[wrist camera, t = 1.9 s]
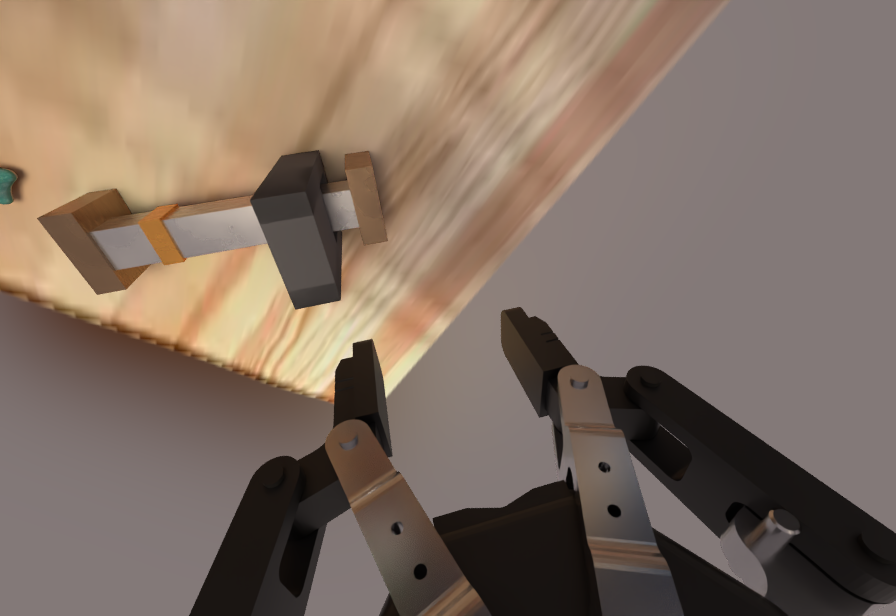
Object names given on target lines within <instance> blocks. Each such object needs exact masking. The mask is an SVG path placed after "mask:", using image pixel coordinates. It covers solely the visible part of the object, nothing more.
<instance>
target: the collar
mask: <svg viewBox="0 0 896 616" xmlns="http://www.w3.org/2000/svg"><path fill="white" fill-rule="evenodd" d="M326 183H328V182H327V178H326V175H325V171H324V168H323V164H322V160H321V157H320V153H319V150H318V151H311V152H304V153H297V154H291V155H284V156H281V157H280V158H279V160H278V161H277V163H276V164H275V165H274V167H273V168H272V170H271V171H270V172H269V174H268V175H267V177H266V178H265V180H264V181H263V182H262V184H261V185H260V187H259V188H258V189H257V191H256V192H255V194H254V195H253V196H252V198H251V199H250V202H251V205H252V207H253V210H254V212H255V214H256V217H257V219H258V222H259V224H260V226H261V229H262V231H263V233H264V236H265V238H266V241H267V243H268V245H269V248H270V250H271V253H272V255H273V257H274V260H275V262H276V265H277V267H278V269H279V272H280V274H281V276H282V279H283V281H284V284H285V286H286V288H287V291H288V293H289V296H290V298H291V300H292V303H293V305H294V307H295V310H296V309H301V308H305V307H310V306H315V305H320V304H325V303H330V302H335V301H340V300H341V265H342V231H341V230H340V231H334V232H333V230H332V226H331V223H330V220H329V216H328V213H327V210H326V206H325V203H324V200H323V196H322V193H321V190H320V184H326Z"/></svg>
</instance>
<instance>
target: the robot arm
mask: <svg viewBox="0 0 896 616" xmlns="http://www.w3.org/2000/svg"><path fill="white" fill-rule="evenodd" d="M501 343H502V348H503V351H504V354H505V356H506V358H507V360H508V361H509V363H510V365H511V367H512V369H513V370H514V372H515V374H516V376H517V378H518V380H519V381H520V383H521V385H522V387H523V389H524V391H525V392H526V394H527V396H528V398H529V400H530V401H531V403H532V405H533V407H534V409H535V410H536V412H537V414H538V416H539V417H544V416H547V415H549V416H550V418H551V419H552V436H553V444H554V452H555V462H556V470H557V482H554V483H551V484H547V485H544V486H541V487H537V488H534V489H532V490H530V491H529V492H527V493H525V494H524V495H522V496H521V497H519V498H518V499H516V500H515V501H513V502H512V503H510V504H508V505H507V506H505V507H502V508H466V509H462V510H459V511H455V512H452V513H449V514H445V515H442V516H439V517H435V518H433V523H434V526H433V524H432V523H431V521H430V520H429V518H428V516H427V515H426V513H425V511H424V510H423V508H422V507H421V505H420V503H419V502H418V500H417V498H416V497H415V495H414V494H413V492H412V490H411V489H410V487H409V485H408V484H407V482H406V481H405V479H404V478H403V476H402V475H401V473H400V472H397V471H396V470H395V469H394V467H393V466H392V464H391V462H390V460H389V459H388V457H391V456H392V448H391V440H390V432H389V424H388V414H387V406H386V397H385V389H384V381H383V376H382V371H381V367H380V363H379V360H378V356H377V353H376V349H375V346H374V342H373V340H372V339H370V340H365V341H360V342H356V343H353V357H350V358H346V359H342V360H341V361H340V363H339V365H338V367H337V369H336V370H335V398H334V426H333V429H332V430H331V432H330V433H329V434H328V436H327V438H326V441H325V443H324V444H323V445H322V446H321V447H320V448H318V449H317V450H315V451H314V452H312V453H311V454H308V455H307V456H305V457H303V458H302V459H299V460H298V461H297V460H296V459H294V458H292V457H289V456H280V457H276V458H274V459H271V460H269V461H268V462H266V463H265V464H264V465H262V466H261V467H260V468H259V469H258V470H257V471H256V472H255V474H254V475H253V477H252V479H251V480H250V483H249V485H248V487H247V489H246V491H245V493H244V496H243V498H242V500H241V502H240V505H239V507H238V509H237V511H236V513H235V516H234V518H233V520H232V522H231V524H230V527H229V529H228V531H227V533H226V535H225V538H224V540H223V542H222V545H221V547H220V549H219V551H218V553H217V555H216V558H215V560H214V562H213V564H212V566H211V569H210V571H209V573H208V575H207V578H206V580H205V582H204V584H203V586H202V588H201V591H200V593H199V595H198V597H197V599H196V602H195V604H194V606H193V608H192V610H191V613H190V615H189V616H304V614H305V610H306V606H307V601H308V598H309V593H310V590H311V585H312V582H313V578H314V574H315V569H316V566H317V562H318V557H319V554H320V549H321V545H322V541H323V537H324V533H325V529H326V525H327V523H328V522H329V521H331V520H333V519H334V518H336V517H337V516H339V515H340V514H342V513H343V512H345V511H347V510H348V509H350V508H352V511H353V513H354V515H355V517H356V520H357V522H358V524H359V526H360V528H361V531H362V533H363V535H364V537H365V539H366V542H367V544H368V546H369V548H370V551H371V553H372V555H373V557H374V560H375V562H376V564H377V566H378V568H379V571H380V573H381V575H382V577H383V579H384V582H385V584H386V586H387V588H388V591H389V594H388V597H387V599H386V601H385V603H384V606H383V608H382V610H381V612H380V615H379V616H869V615H870V614H872V613H874V612H876V611H878V610H879V609H881V608H883V607H884V606H887V605H889V604H890V603H892V602H894V601H896V533H894V532H893V531H892V530H890V529H888V528H887V527H886V526H884V525H883V524H881V523H880V522H879V521H877V520H876V519H874V518H873V517H871V516H870V515H869V514H867V513H866V512H864V511H863V510H861V509H860V508H859V507H857V506H856V505H854V504H853V503H851V502H850V501H848V500H847V499H846V498H844V497H843V496H841V495H840V494H838V493H837V492H836V491H834V490H833V489H831V488H830V487H828V486H827V485H825V484H824V483H823V482H821V481H819V480H818V479H817V478H815V477H814V476H813V475H811V474H810V473H808V472H807V471H805V470H804V469H803V468H801V467H800V466H798V465H797V464H795V463H794V462H792V461H791V460H790V459H788V458H787V457H785V456H784V455H782V454H781V453H780V452H778V451H776V450H775V449H774V448H772V447H771V446H769V445H768V444H766V443H765V442H764V441H762V440H761V439H759V438H758V437H757V436H755V435H754V434H752V433H751V432H749V431H748V430H746V429H745V428H744V427H742V426H741V425H739V424H738V423H736V422H735V421H733V420H732V419H731V418H729V417H728V416H726V415H725V414H723V413H722V412H720V411H719V410H718V409H716V408H715V407H713V406H712V405H711V404H709V403H708V402H706V401H705V400H703V399H702V398H701V397H699V396H698V395H696V394H695V393H693V392H692V391H690V390H689V389H688V388H686V387H685V386H683V385H682V384H680V383H679V382H678V381H676V380H675V379H673V378H672V377H670V376H669V375H667V374H666V373H664V372H663V371H661V370H659V369H657V368H654V367H650V366H636V367H633V368H631V369H630V370H629V371H628V373H627V375H626V377H602V376H599V375H598V374H597V373H596V372H595V371H593V370H592V369H590V368H588V367H585V366H582V365H579V364H578V363H577V362H576V360H575V359H574V358H573V357H572V355H571V354H570V353H569V351H568V350H567V349H566V348H565V346H564V345H563V344H562V342H561V341H560V340H558V337H557V336H556V335H555V333H553V331H552V330H551V328H550V327H549V326H548V324H547V323H546V322H544V321H543V320H541V319H539V318H537V317H536V316H534V317H530V318H529V317H528V316H527V315H526V313H525V312H524V311H523V309H522V308H521V307H517V308H512V309H508V310H503V311H502V312H501ZM660 424H661V425H662V426H663V427H664V428H665V429H667V430H668V431H669V432H670V433H672V434H673V435H674V436H675V437H676V438H678V439H679V440H680V441H681V442H682V443H684V444H685V445H686V446H687V447H686V446H685V445H683V444H682V443H681V442H680V441H679V440H677V439H676V438H675V437H674V436H673V435H671V434H670V433H669V432H668V431H667V430H665V429H664V428H663V427H662V426H661V425H660ZM629 452H630V453H631V454H632V455H633V456H634V457H635V458H637V459H638V460H639V461H640V462H641V463H642V464H643V465H644V466H645V467H646V468H647V469H648V470H649V471H650V472H651V473H652V474H653V475H654V476H655V477H656V478H657V479H658V480H659V481H660V482H662V483H663V484H664V485H665V486H666V487H667V488H668V489H669V490H670V491H671V492H672V493H673V494H674V495H675V496H676V497H677V498H678V499H680V501H681V502H682V503H683V504H684V505H685V506H686V507H687V508H688V509H690V510H691V511H692V512H693V513H694V514H695V515H696V516H697V517H698V518H699V519H700V520H701V521H702V522H703V523H704V524H705V525H706V526H707V527H708V528H709V529H710V530H711V531H712V532H713V533H714V534H715V535H716V536H718V537H719V538H720V543H721V548H722V551H723V553H724V555H725V557H726V559H727V560H728V565H729V567H730V569H731V570H732V572H734V574H735V575H737V576H738V577H739V578H741V579H742V580H743V582H744V584H745V585H744V584H743V583H741V582H739V581H738V580H736V579H734V578H733V577H731V576H730V575H728V574H726V573H725V572H723V571H721V570H720V569H718V568H717V567H715V566H713V565H712V564H710V563H709V562H707V561H705V560H704V559H702V558H701V557H699V556H697V555H696V554H694V553H692V552H691V551H689V550H688V549H686V548H684V547H683V546H681V545H680V544H678V543H676V542H675V541H673V540H672V539H670V538H668V537H667V536H665V535H663V534H662V533H660V532H658V531H657V530H655V529H654V528H652V527H651V523H650V520H649V517H648V513H647V510H646V507H645V503H644V500H643V497H642V493H641V490H640V487H639V483H638V480H637V477H636V474H635V470H634V466H633V463H632V460H631V456H630V453H629Z"/></svg>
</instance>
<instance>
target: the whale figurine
mask: <svg viewBox="0 0 896 616" xmlns="http://www.w3.org/2000/svg"><path fill="white" fill-rule="evenodd" d="M16 180H17V175H16V173H15V172H13V171H12V170H9V169H5V168H0V204H10V203H12V202H13V201H14V198H13V195H12V185H13V183H14V182H15V181H16Z"/></svg>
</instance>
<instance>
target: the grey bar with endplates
mask: <svg viewBox="0 0 896 616" xmlns="http://www.w3.org/2000/svg"><path fill="white" fill-rule="evenodd" d="M345 172H346V176H347V180H345V181H339V182H332V183H326V184H320V190H321V193H322V196H323V200H324V203H325V206H326V210H327V213H328V216H329V220H330V223H331V226H332V230H333V232H334V231H340V230H346V229H351V228H357V227H359V228H360V232H361V236H362V240H363V244H364V245H369V244H375V243H380V242H386V241H388V239H387V234H386V230H385V225H384V220H383V215H382V210H381V206H380V201H379V196H378V191H377V186H376V181H375V177H374V172H373V167H372V163H371V159H370V155H369V152H368V151H365V152H358V153H352V154H345ZM252 196H253V195H251V196H244V197H238V198H232V199H226V200H219V201H213V202H207V203H200V204H194V205H188V206H182V207H179V206H178V204H173V205H167V206H160V207H157V208H156V209H154V210H153V211H150V212H144V213H138V214H132V213H131V212H130V210H129V208H128V207H127V205H126V204H125V202H124V200H123V199H122V197H121V196H120V194H119V192H118V191H117V189H111V190H104V191H97V192H91V193H87V194H85V195H83V196H81V197H79V198H77V199H75V200H73V201H71V202H69V203H67V204H65V205H63V206H61V207H59V208H57V209H55V210H53V211H51V212H49V213H47V214H45V215H43V216H41V217H39V218H37V219H38V220H39V221H40V223H41V224H42V225H43V227H44V228H45V229H46V230H47V232H48V233H49V234H50V235H51V237H52V238H53V239H54V241H55V242H56V243H57V244H58V246H59V247H60V248H61V249H62V251H63V252H64V253H65V254H66V256H67V257H68V258H69V260H70V261H71V262H72V263H73V265H74V266H75V267H76V268H77V270H78V271H79V272H80V273H81V275H82V276H83V277H84V279H85V280H86V281H87V282H88V284H89V285H90V286H91V287H92V289H93V290H94V291H95V293H96V294H97V295H98V294H104V293H109V292H115V291H120V290H126V289H127V288H128V287H129V286H130V285H131V284H132V283H133V282H134V281H135V280H136V279H137V278H138V277H139V276H140V275H141V274H142V273H143V272H144V271H145V270H146V269H147V268H148V267H149V266H150V265H151V264H154V263H160V262H162V263H163V264H164V265H169V264H174V263H180V262H184V261H185V260H186V259H187V258H188V257H194V256H199V255H205V254H210V253H216V252H222V251H227V250H233V249H239V248H244V247H250V246H256V245H261V244H267V241H266V238H265V236H264V233H263V231H262V229H261V226H260V224H259V222H258V219H257V217H256V214H255V212H254V210H253V207H252V205H251V202H250V199H251V198H252Z"/></svg>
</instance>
